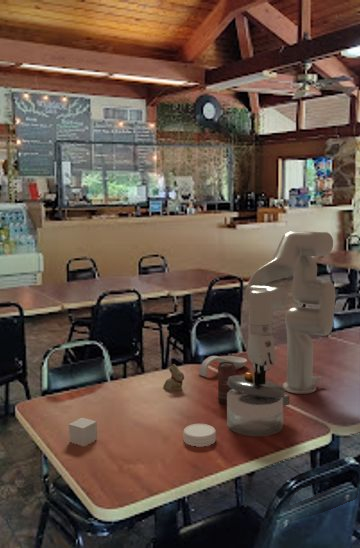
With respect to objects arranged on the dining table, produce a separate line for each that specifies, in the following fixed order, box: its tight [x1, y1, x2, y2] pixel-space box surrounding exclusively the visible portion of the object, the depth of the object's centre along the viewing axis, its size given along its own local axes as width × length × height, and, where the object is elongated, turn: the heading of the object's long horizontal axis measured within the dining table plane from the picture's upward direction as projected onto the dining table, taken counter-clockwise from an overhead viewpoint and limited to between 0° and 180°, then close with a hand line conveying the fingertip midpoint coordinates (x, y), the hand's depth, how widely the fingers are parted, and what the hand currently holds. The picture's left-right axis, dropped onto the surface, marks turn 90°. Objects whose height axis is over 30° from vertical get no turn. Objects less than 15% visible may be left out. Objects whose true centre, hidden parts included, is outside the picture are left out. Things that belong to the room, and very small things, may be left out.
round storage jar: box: [226, 386, 290, 437], centre depth 186 cm, size 20×26×10 cm
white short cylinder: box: [182, 423, 217, 448], centre depth 172 cm, size 10×10×4 cm
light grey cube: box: [68, 417, 98, 447], centre depth 173 cm, size 6×6×6 cm
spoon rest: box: [198, 355, 248, 378], centre depth 238 cm, size 24×12×7 cm, turn 129°
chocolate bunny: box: [162, 363, 185, 392], centre depth 216 cm, size 6×8×10 cm
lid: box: [227, 371, 286, 399], centre depth 181 cm, size 19×19×4 cm
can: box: [217, 362, 236, 405], centre depth 203 cm, size 6×6×14 cm
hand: (259, 383), depth 181 cm, fingers closed
